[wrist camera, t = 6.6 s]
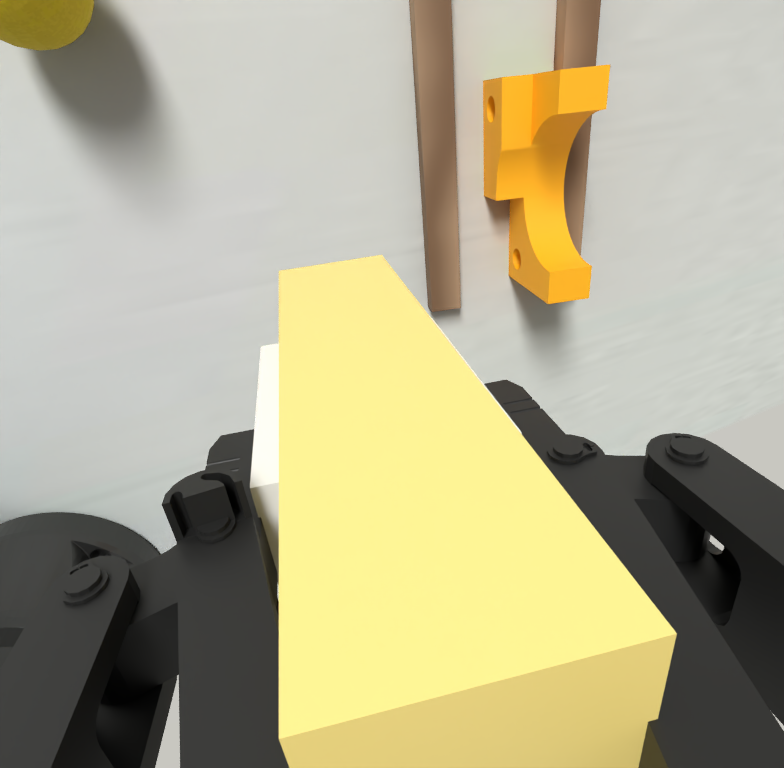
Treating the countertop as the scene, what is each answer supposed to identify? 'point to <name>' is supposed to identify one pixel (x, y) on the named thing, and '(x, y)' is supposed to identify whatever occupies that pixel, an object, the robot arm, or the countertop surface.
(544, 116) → the pipe clamp
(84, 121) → the countertop surface
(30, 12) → the lemon
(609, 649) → the yellow rectangular block
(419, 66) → the channel
